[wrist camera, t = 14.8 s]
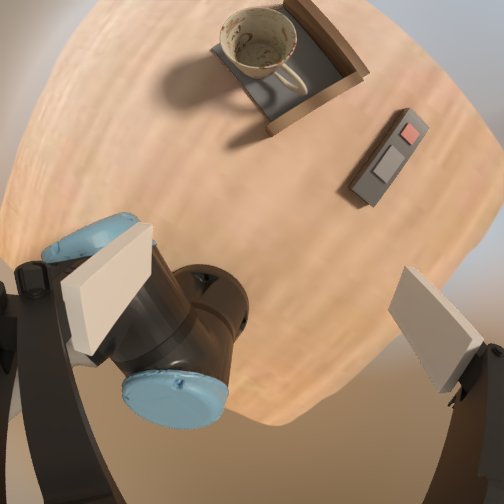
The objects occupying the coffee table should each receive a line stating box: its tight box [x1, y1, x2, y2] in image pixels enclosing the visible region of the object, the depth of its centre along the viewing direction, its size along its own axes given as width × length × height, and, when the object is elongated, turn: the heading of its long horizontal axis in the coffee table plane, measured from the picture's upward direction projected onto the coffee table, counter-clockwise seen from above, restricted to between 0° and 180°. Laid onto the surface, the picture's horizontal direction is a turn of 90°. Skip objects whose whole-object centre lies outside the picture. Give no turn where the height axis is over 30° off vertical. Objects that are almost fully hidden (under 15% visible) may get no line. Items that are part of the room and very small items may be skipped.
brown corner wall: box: [266, 0, 370, 137], centre depth 31 cm, size 16×16×6 cm
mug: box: [220, 7, 307, 95], centre depth 29 cm, size 8×13×10 cm, turn 46°
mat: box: [212, 7, 343, 122], centre depth 34 cm, size 13×14×1 cm
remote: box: [349, 108, 430, 207], centre depth 37 cm, size 16×4×2 cm, turn 146°
